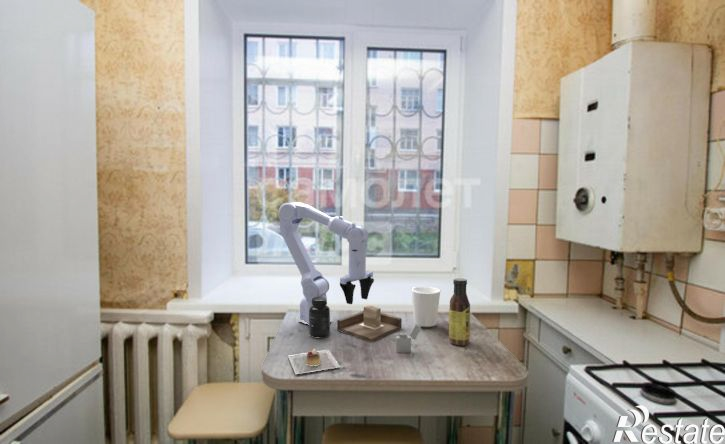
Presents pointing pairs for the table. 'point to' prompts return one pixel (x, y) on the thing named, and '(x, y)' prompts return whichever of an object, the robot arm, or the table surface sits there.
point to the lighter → (406, 340)
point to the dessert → (314, 359)
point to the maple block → (372, 316)
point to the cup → (425, 306)
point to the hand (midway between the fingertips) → (357, 301)
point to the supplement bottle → (319, 317)
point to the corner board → (358, 329)
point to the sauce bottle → (459, 314)
